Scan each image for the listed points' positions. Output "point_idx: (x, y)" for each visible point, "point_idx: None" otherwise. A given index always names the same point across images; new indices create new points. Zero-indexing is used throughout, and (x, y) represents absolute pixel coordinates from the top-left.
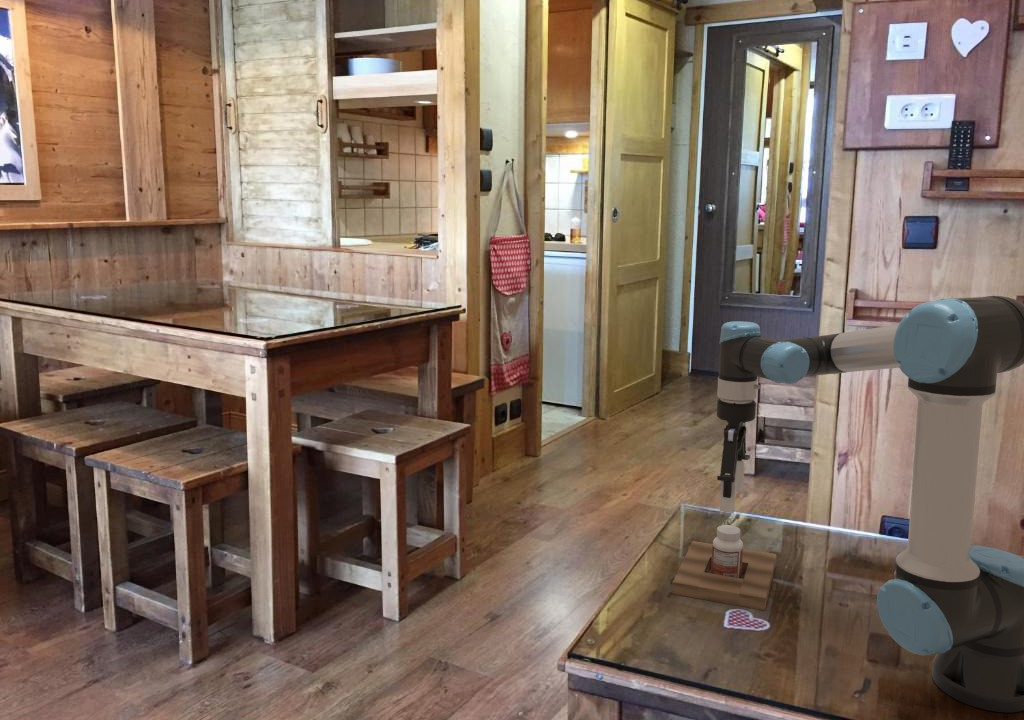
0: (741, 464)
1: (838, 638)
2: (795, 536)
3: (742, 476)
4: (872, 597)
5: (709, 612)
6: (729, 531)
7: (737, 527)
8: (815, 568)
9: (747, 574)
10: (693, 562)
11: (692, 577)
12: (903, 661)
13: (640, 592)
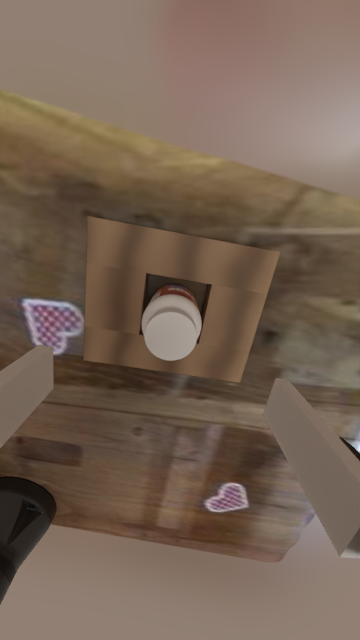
0: (333, 524)
1: (53, 418)
2: (336, 402)
3: (291, 462)
4: (164, 457)
5: (56, 280)
6: (157, 338)
7: (185, 355)
8: (231, 415)
9: None
10: (182, 254)
11: (119, 253)
12: (32, 462)
13: (82, 157)
